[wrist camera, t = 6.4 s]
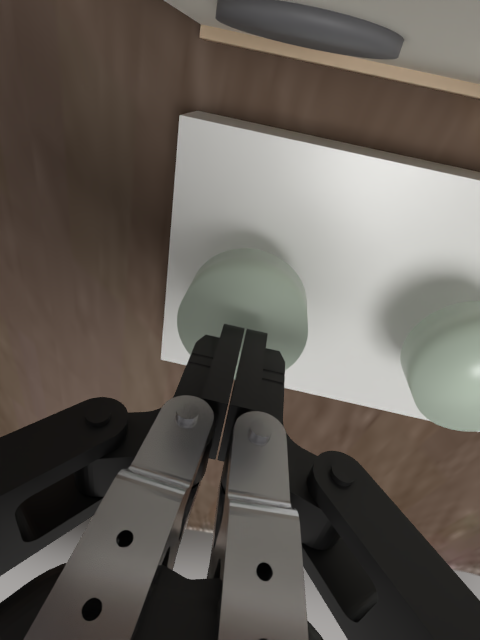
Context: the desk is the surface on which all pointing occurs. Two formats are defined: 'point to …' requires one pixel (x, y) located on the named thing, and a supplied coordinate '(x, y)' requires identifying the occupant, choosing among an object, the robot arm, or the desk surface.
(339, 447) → the desk surface
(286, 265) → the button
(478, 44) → the pattern card
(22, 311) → the desk surface
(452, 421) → the button middle
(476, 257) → the button panel
